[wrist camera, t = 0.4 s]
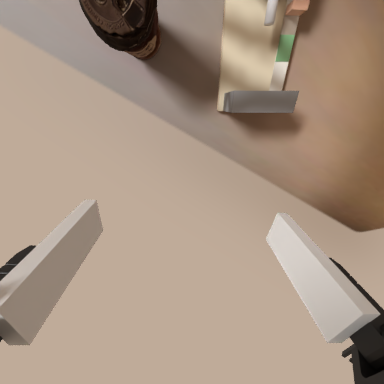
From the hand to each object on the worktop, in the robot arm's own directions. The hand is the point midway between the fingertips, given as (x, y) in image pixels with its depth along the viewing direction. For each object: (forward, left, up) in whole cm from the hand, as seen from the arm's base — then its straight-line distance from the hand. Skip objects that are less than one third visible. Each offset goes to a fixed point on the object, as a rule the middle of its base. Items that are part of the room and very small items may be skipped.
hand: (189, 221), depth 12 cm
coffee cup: (-17, -7, -27) cm, 33 cm away
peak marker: (-21, +17, -26) cm, 37 cm away
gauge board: (-18, +12, -27) cm, 35 cm away
